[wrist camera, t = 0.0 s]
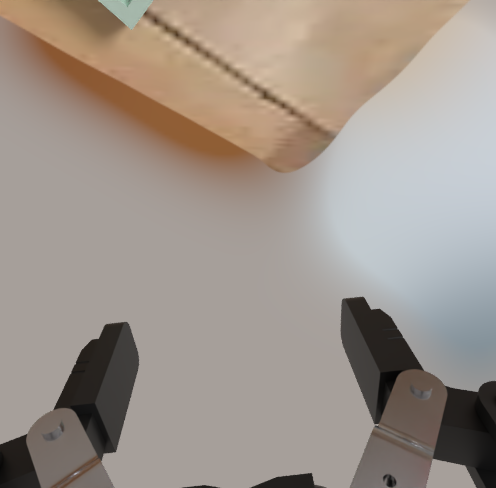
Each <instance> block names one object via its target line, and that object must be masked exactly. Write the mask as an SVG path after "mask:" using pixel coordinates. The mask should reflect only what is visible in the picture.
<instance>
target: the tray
mask: <svg viewBox="0 0 496 488" xmlns="http://www.w3.org/2000/svg"><path fill="white" fill-rule="evenodd" d="M98 1H99V2H100V3H102V4H103V5H104V6H105V7H106V8H107V9H108V10H110V11H111V12H112V13H113V14H114V15H115V16H116V17H118V18H119V19H120V20H121V21H122V22H123V23H124V24H125V25H127V26H128V27H129V28H130V29H131V30H132V29H133V28H134V26H135V25H136V23H137V22H138V21H139V19H140V18H141V17H142V15H143V14H144V12H145V11H146V10H147V8H148V7H149V6H150V4H151V3H152V1H153V0H98Z"/></svg>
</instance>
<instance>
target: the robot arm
mask: <svg viewBox="0 0 496 488" xmlns="http://www.w3.org/2000/svg"><path fill="white" fill-rule="evenodd" d="M341 338H342V343H343V347H344V349H345V352H346V354H347V357H348V359H349V362H350V364H351V367H352V369H353V372H354V374H355V377H356V379H357V382H358V384H359V387H360V389H361V392H362V394H363V396H364V399H365V402H366V404H367V407H368V409H369V411H370V414H371V417H372V419H373V421H374V424H379V425H378V426H375V427H374V428H373V431H372V433H371V435H370V438H369V440H368V443H367V445H366V448H365V450H364V453H363V455H362V458H361V460H360V463H359V465H358V468H357V470H356V473H355V475H354V478H353V481H352V483H351V485H350V488H426V484H427V480H428V476H429V472H430V467H431V463H432V459H437V460H441V461H447V462H451V463H456V464H460V465H465V466H466V468H467V470H468V472H469V474H470V476H471V478H472V479H473V481H474V483H475V485H476V487H477V488H496V381H491V382H487V383H484V384H483V385H482V386H481V387H480V388H479V391H478V392H473V391H467V390H460V389H455V388H450V387H447V386H445V385H444V384H443V383H442V381H441V380H440V379H438V378H437V377H436V376H434V375H433V374H431V373H428V372H426V371H424V370H423V368H422V366H421V365H420V364H419V362H418V360H417V358H416V357H415V355H414V354H413V352H412V351H411V349H410V347H409V346H408V344H407V342H406V341H405V339H404V338H403V336H402V334H401V333H400V331H399V330H398V329H397V326H396V325H395V323H394V322H393V320H392V318H391V317H390V316H389V315H387V314H386V313H385V312H383V311H382V310H381V309H373V310H371V309H370V307H369V305H368V303H367V302H366V300H365V298H364V297H355V298H346V299H343V300H342V310H341ZM138 366H139V356H138V351H137V348H136V345H135V342H134V338H133V335H132V333H131V329H130V326H129V324H128V323H127V322H121V323H112V324H106V325H105V326H104V329H103V331H102V333H101V335H100V337H99V339H94V340H91V341H90V342H89V343H88V344H87V345H86V346H85V347H84V349H82V351H81V353H80V355H79V357H78V359H77V361H76V365H74V368H73V370H72V374H70V376H69V378H68V380H67V382H66V384H65V386H64V389H63V391H62V393H61V395H60V397H59V399H58V401H57V403H56V406H55V408H54V410H53V411H50V412H48V413H46V414H45V415H43V416H42V417H41V418H39V419H38V420H37V421H36V422H35V423H34V424H33V425H32V427H31V428H30V430H29V432H28V434H26V435H24V436H21V437H19V438H16V439H14V440H11V441H9V442H6V443H3V444H0V488H114V486H113V484H112V482H111V480H110V478H109V476H108V474H107V472H106V470H105V468H104V466H103V465H102V462H101V461H102V457H103V454H104V453H113V452H116V450H117V445H118V442H119V438H120V435H121V431H122V427H123V424H124V420H125V416H126V412H127V409H128V405H129V401H130V398H131V394H132V390H133V386H134V382H135V379H136V375H137V371H138ZM184 488H218V487H212V486H206V485H202V486H194V487H184ZM251 488H326V487H322V486H318V485H314V481H313V476H312V473H308V474H300V475H290V476H282V477H276V478H273V479H271V480H268V481H266V482H264V483H261V484H259V485H256V486H254V487H251Z"/></svg>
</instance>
